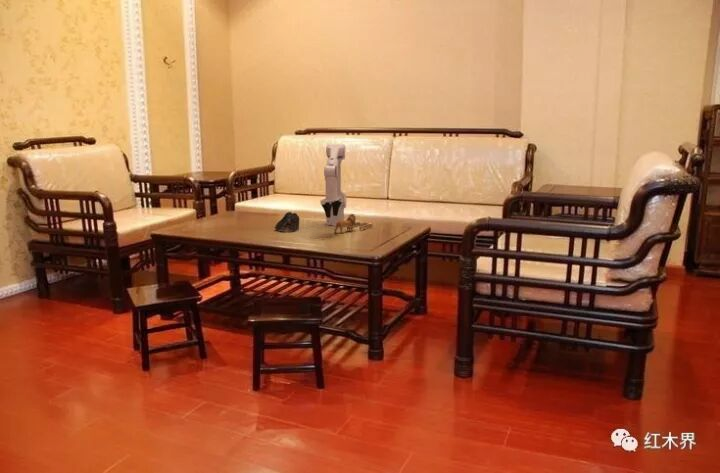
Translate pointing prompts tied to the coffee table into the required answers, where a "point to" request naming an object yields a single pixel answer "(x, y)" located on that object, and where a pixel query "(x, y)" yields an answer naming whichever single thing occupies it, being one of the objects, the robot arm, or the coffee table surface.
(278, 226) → the crystal cluster
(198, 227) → the coffee table surface
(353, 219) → the lion figurine
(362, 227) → the wooden frame
